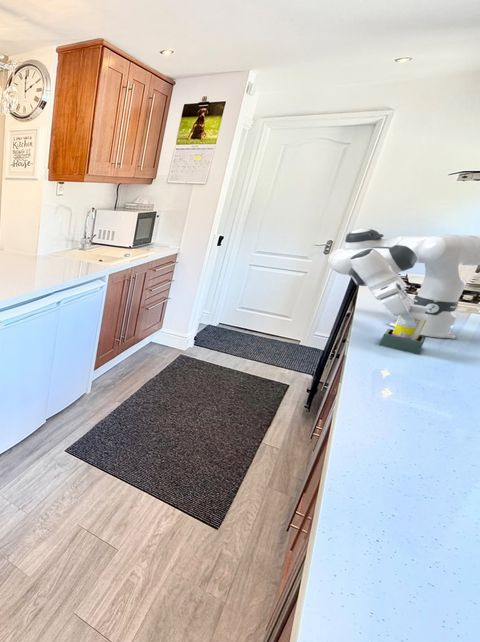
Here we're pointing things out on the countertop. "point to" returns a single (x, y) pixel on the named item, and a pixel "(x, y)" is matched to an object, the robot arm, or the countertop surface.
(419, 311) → the supplement bottle
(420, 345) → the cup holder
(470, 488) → the countertop surface
